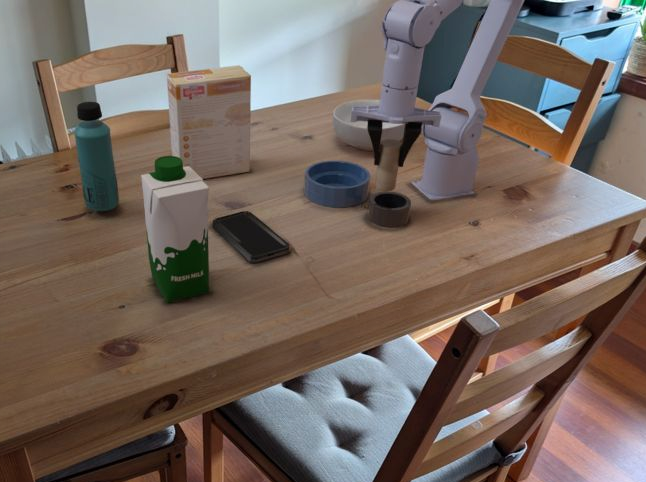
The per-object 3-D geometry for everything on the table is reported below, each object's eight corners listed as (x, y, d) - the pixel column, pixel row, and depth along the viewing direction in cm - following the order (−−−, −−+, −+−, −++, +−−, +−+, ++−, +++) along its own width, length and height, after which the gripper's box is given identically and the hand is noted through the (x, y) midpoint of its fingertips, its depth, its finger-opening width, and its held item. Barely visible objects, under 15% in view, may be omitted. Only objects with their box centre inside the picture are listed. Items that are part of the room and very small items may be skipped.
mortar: (396, 209, 128) (399, 189, 126) (414, 227, 123) (418, 206, 120) (360, 214, 127) (363, 194, 124) (378, 232, 121) (381, 212, 119)
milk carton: (195, 266, 113) (191, 150, 101) (217, 295, 107) (215, 174, 94) (145, 278, 110) (133, 160, 98) (164, 308, 104) (154, 186, 91)
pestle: (389, 181, 124) (395, 138, 119) (398, 189, 121) (406, 146, 116) (371, 183, 123) (377, 140, 118) (380, 192, 120) (386, 148, 115)
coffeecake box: (239, 159, 146) (240, 64, 134) (250, 172, 141) (252, 75, 129) (171, 168, 143) (165, 72, 130) (180, 183, 137) (175, 83, 125)
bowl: (351, 178, 139) (353, 157, 136) (378, 205, 129) (381, 183, 127) (294, 186, 136) (295, 164, 133) (318, 214, 127) (320, 192, 124)
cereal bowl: (331, 128, 159) (334, 97, 155) (404, 131, 158) (409, 100, 153) (329, 157, 146) (332, 125, 142) (409, 161, 145) (414, 128, 140)
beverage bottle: (127, 206, 130) (115, 100, 117) (108, 222, 125) (94, 113, 113) (98, 200, 132) (83, 95, 119) (78, 215, 127) (61, 107, 115)
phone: (247, 209, 126) (292, 246, 115) (247, 215, 126) (291, 252, 116) (209, 219, 123) (251, 258, 113) (209, 225, 124) (251, 264, 113)
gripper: (353, 89, 109) (345, 170, 117) (448, 94, 107) (432, 176, 115) (355, 75, 114) (346, 153, 123) (445, 80, 112) (430, 159, 121)
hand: (388, 163), depth 119 cm, fingers closed on pestle, 3 cm apart
